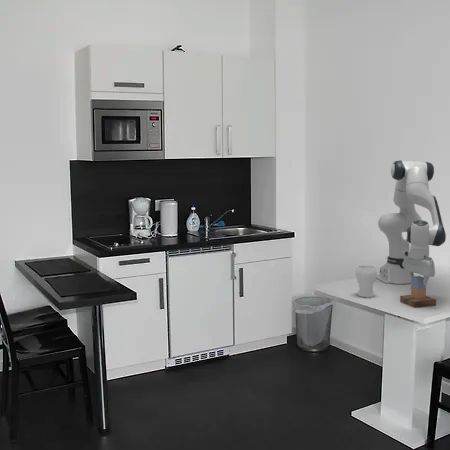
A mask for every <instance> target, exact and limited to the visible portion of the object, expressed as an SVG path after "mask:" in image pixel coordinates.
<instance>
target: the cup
mask: <svg viewBox="0 0 450 450" xmlns="http://www.w3.org/2000/svg"><path fill="white" fill-rule="evenodd" d="M377 275H378V271H377V266H375V265H370V264H361V265H357V266H356V269H355V278H356V280H357V281H356V282H357V283H358V296H359V297H360V298H361V297H362V298H373V297H374V289H373V288H374V284H375V282H376V279H377V278H376V277H377Z"/></svg>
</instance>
